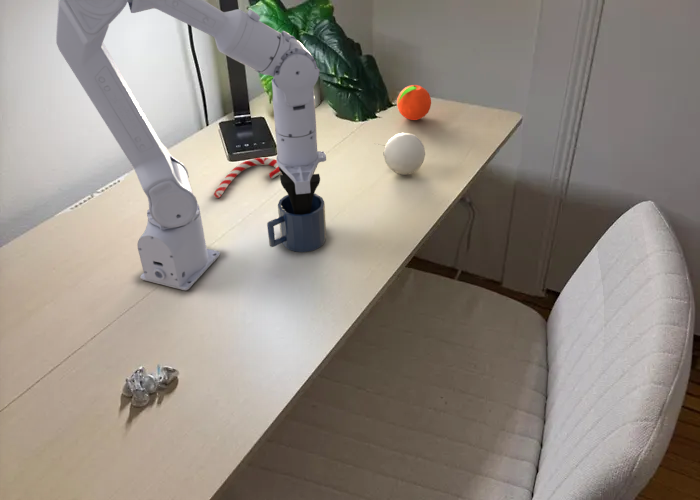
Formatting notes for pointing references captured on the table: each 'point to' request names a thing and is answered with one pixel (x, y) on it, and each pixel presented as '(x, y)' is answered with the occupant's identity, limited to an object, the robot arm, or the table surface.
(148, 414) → the table surface
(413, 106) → the clementine
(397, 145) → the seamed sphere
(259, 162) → the candy cane
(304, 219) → the mug
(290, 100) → the robot arm
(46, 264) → the table surface
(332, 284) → the table surface
